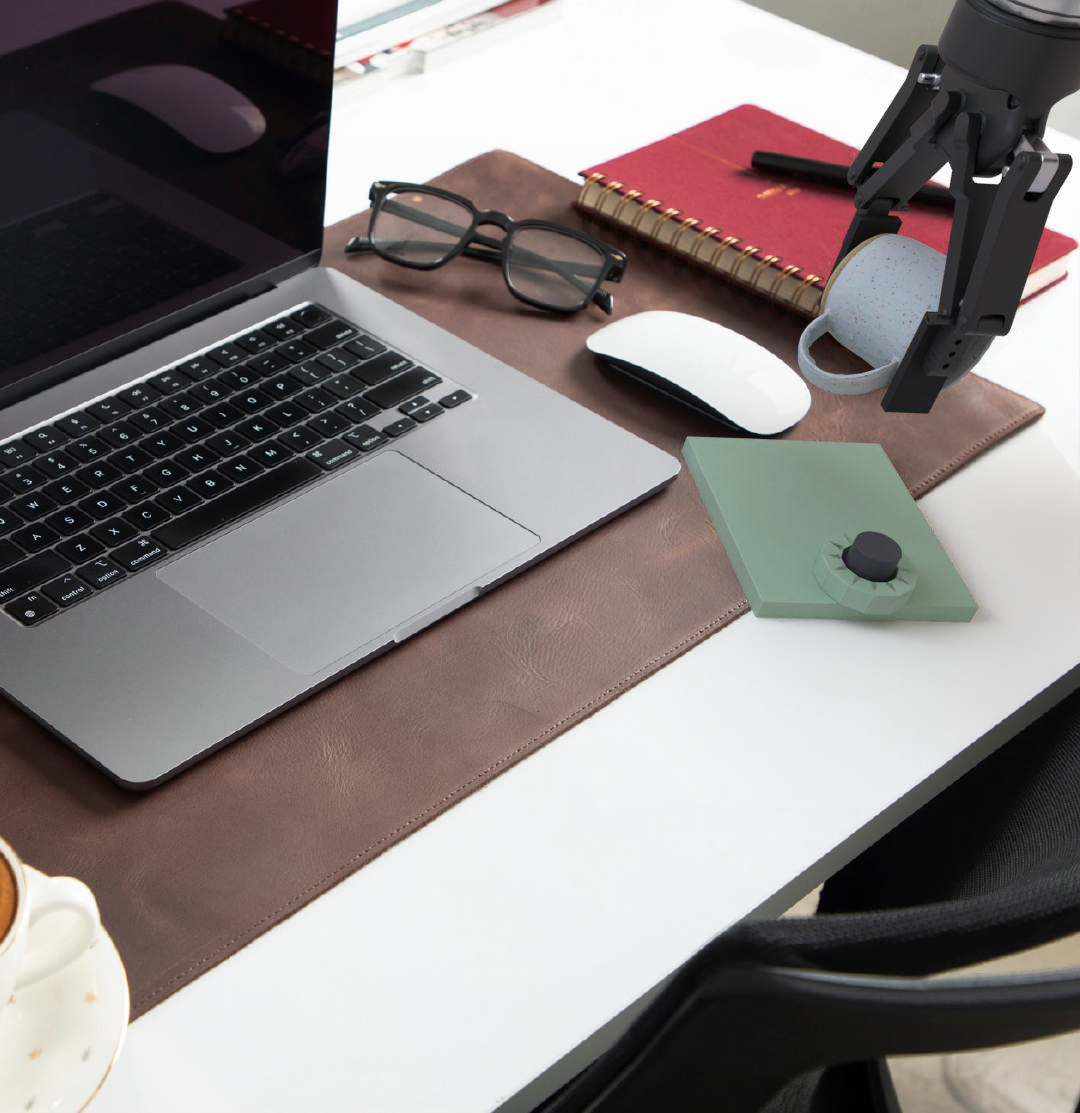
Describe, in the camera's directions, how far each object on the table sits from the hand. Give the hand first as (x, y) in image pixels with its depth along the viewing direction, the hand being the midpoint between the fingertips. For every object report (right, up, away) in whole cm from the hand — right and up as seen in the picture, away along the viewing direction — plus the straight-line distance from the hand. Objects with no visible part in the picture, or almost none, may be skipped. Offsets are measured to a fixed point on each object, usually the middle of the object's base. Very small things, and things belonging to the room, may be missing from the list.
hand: (870, 356), depth 89 cm
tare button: (0, -13, 0) cm, 13 cm away
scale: (-1, -11, +6) cm, 12 cm away
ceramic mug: (0, -1, 0) cm, 1 cm away
